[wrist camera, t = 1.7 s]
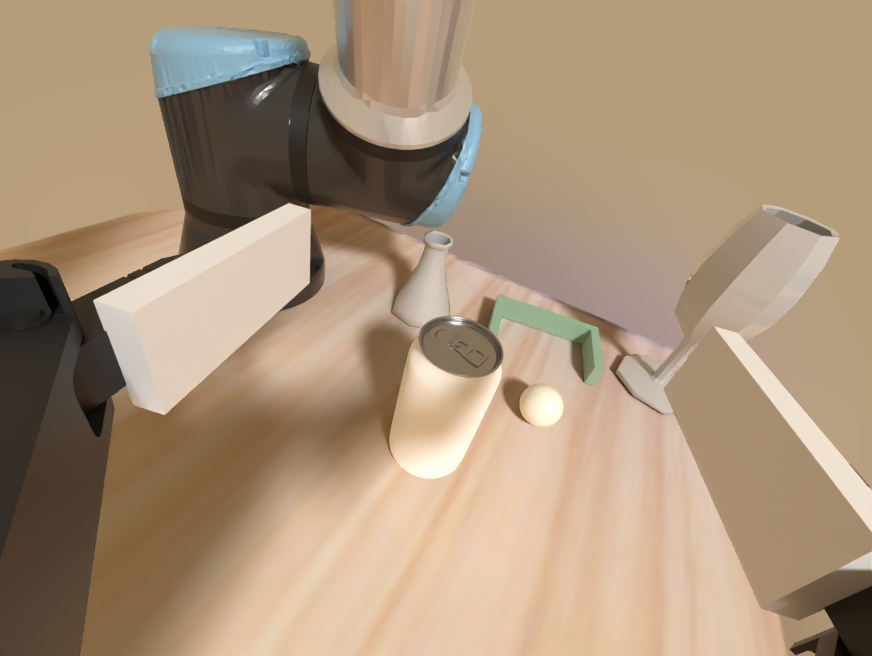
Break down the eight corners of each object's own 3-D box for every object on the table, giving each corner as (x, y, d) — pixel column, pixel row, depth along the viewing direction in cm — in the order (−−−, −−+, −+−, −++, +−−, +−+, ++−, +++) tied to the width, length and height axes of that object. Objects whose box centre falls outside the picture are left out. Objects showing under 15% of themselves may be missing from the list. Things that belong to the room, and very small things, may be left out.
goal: (592, 385, 42) (604, 370, 40) (482, 347, 43) (488, 331, 41) (588, 341, 48) (598, 327, 46) (492, 309, 49) (498, 294, 47)
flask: (381, 315, 43) (392, 238, 37) (407, 286, 49) (421, 214, 42) (437, 339, 42) (459, 264, 36) (458, 307, 48) (480, 237, 41)
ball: (505, 411, 36) (519, 385, 34) (530, 395, 39) (545, 369, 36) (536, 442, 34) (554, 416, 32) (560, 423, 37) (579, 397, 34)
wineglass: (702, 400, 44) (873, 241, 30) (665, 427, 39) (848, 254, 26) (639, 351, 49) (763, 195, 35) (600, 370, 44) (725, 199, 31)
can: (419, 401, 35) (449, 299, 27) (476, 443, 33) (526, 346, 25) (371, 445, 30) (391, 339, 23) (433, 498, 28) (477, 401, 21)
